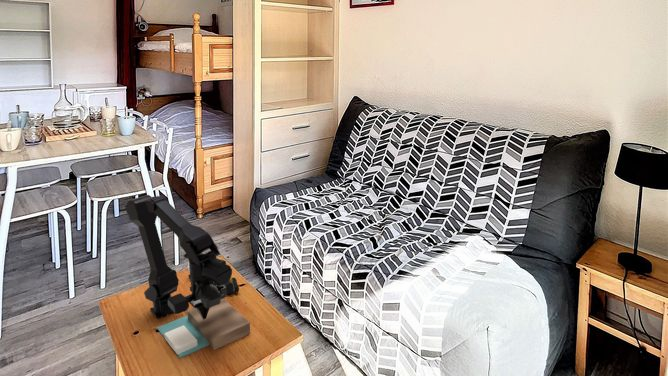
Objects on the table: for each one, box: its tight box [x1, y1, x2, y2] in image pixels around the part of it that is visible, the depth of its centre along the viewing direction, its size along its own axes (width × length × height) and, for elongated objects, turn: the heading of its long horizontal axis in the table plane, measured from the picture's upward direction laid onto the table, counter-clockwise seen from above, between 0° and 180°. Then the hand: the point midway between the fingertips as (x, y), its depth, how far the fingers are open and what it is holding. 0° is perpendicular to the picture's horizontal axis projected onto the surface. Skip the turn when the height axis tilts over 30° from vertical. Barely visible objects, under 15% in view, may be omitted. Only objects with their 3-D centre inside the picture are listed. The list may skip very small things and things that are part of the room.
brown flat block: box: [186, 298, 251, 351], centre depth 137 cm, size 18×12×4 cm, turn 42°
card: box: [164, 325, 198, 356], centre depth 130 cm, size 9×6×2 cm, turn 43°
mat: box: [156, 315, 210, 359], centre depth 133 cm, size 17×10×1 cm, turn 42°
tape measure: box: [226, 277, 240, 296], centre depth 157 cm, size 7×7×4 cm
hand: (204, 318), depth 133 cm, fingers closed
